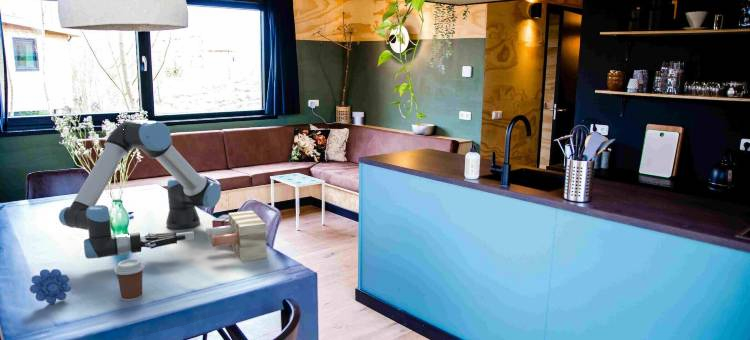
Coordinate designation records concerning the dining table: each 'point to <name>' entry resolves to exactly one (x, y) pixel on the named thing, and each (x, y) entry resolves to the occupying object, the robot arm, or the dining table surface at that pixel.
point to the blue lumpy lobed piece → (50, 286)
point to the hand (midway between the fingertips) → (193, 235)
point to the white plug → (219, 231)
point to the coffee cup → (130, 279)
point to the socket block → (249, 235)
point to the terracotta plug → (225, 239)
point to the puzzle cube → (221, 221)
